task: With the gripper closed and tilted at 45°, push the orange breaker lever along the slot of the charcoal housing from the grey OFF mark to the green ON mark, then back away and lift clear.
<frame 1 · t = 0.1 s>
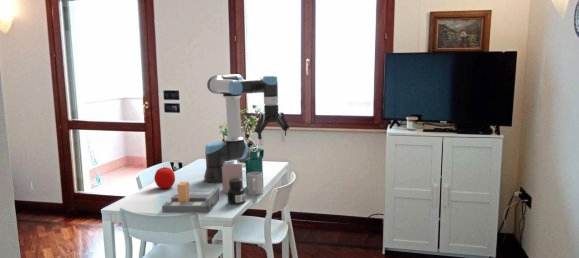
hand: (272, 143, 248), 28 cm above the table, tool pointing down, fingers open, 13 cm apart
breaker lever: (183, 192, 235), point 7 cm above the table, slide at 0.0 cm
ink bottle: (236, 202, 239), on the table
greeting card: (231, 191, 261), on the table
breaker housing: (192, 205, 236), on the table
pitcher: (256, 187, 268), on the table
mug: (255, 193, 254), on the table
tomato: (165, 188, 271), on the table
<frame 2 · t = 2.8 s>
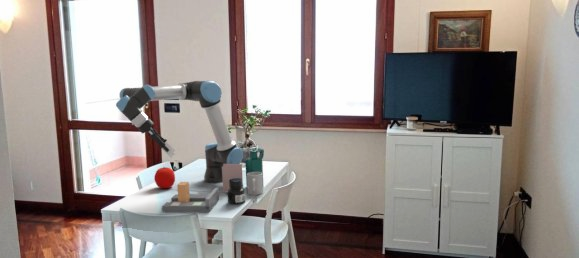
hand: (173, 154, 231), 27 cm above the table, tool tilted 40°, fingers open, 13 cm apart
nothing on the table moved.
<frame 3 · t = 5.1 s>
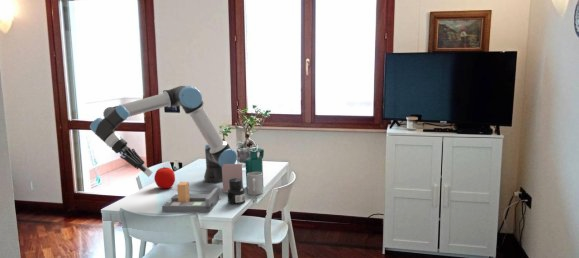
hand: (150, 174, 235), 17 cm above the table, tool tilted 45°, fingers closed
nothing on the table moved.
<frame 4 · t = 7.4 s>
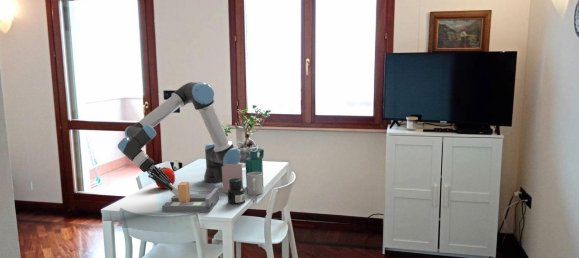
hand: (177, 193, 236), 6 cm above the table, tool tilted 45°, fingers closed
breaker lever: (184, 192, 235), point 7 cm above the table, slide at 0.3 cm, touching gripper
everything else where it was.
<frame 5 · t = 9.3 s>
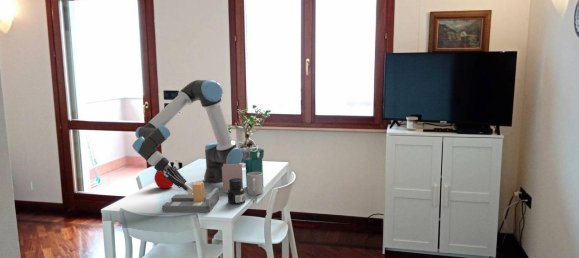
hand: (192, 193, 235), 7 cm above the table, tool tilted 45°, fingers closed
breaker lever: (198, 192, 235), point 7 cm above the table, slide at 8.1 cm, touching gripper
everything else where it was.
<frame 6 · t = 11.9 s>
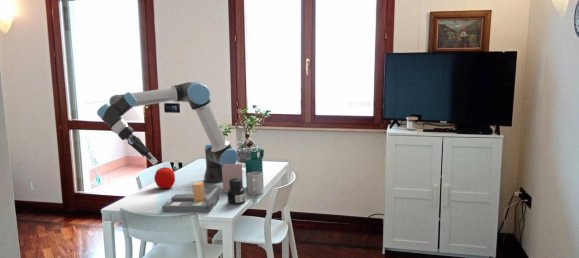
hand: (155, 163, 236), 22 cm above the table, tool tilted 40°, fingers closed
breaker lever: (198, 192, 235), point 7 cm above the table, slide at 8.1 cm
everything else where it was.
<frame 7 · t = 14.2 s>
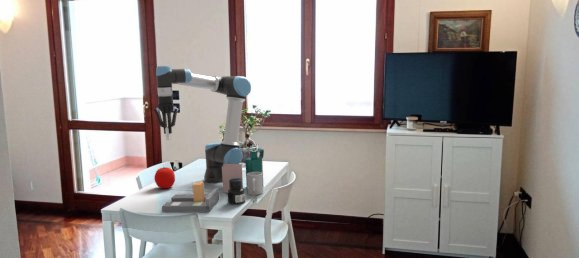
hand: (168, 139, 245), 32 cm above the table, tool pointing down, fingers closed
nothing on the table moved.
at the end: breaker lever slide at 8.1 cm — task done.
